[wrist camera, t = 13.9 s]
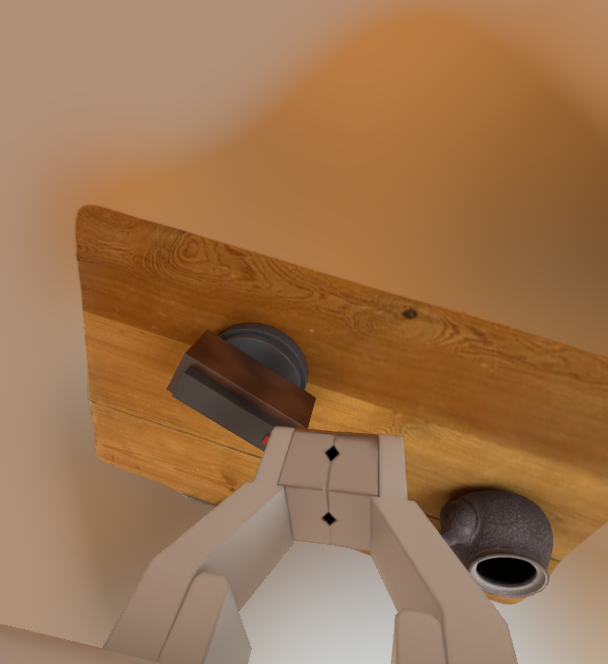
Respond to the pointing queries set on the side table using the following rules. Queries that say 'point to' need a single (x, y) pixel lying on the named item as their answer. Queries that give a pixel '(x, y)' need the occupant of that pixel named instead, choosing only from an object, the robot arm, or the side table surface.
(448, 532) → the teapot
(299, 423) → the remote caddy
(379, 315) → the side table surface
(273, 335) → the turntable base
